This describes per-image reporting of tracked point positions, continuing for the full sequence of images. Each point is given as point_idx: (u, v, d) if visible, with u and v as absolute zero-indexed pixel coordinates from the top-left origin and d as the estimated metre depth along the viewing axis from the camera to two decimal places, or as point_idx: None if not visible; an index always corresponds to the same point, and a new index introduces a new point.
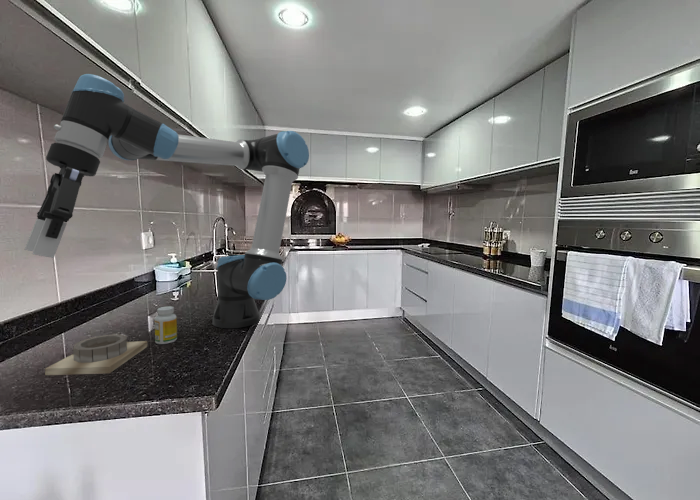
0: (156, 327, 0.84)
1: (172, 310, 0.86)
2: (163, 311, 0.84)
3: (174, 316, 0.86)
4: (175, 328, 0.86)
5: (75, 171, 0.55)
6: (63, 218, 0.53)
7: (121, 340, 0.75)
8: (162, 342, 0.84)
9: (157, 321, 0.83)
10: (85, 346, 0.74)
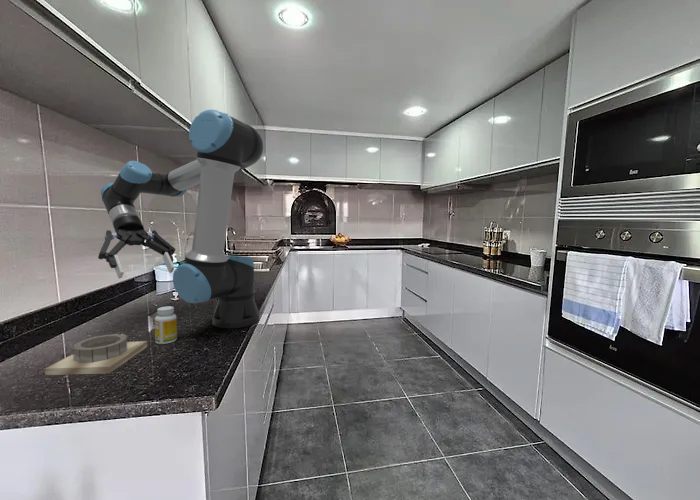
0: (156, 327, 0.84)
1: (172, 310, 0.86)
2: (163, 311, 0.84)
3: (174, 316, 0.86)
4: (175, 328, 0.86)
5: None
6: (104, 256, 0.86)
7: (121, 340, 0.75)
8: (162, 342, 0.84)
9: (157, 321, 0.83)
10: (85, 346, 0.74)
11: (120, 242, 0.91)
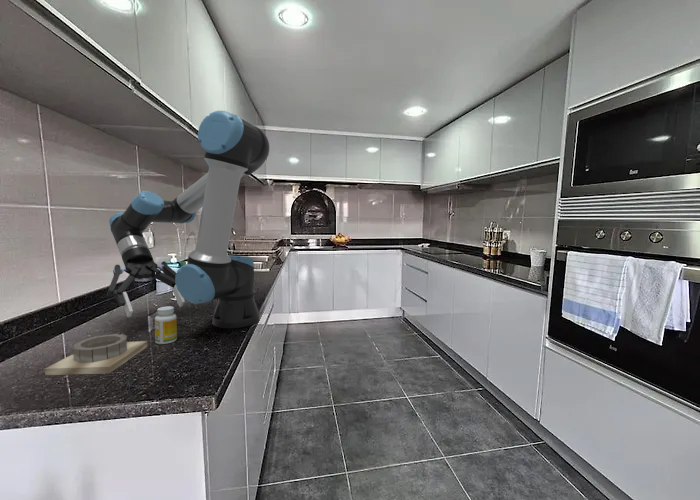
0: (156, 327, 0.84)
1: (172, 310, 0.86)
2: (163, 311, 0.84)
3: (174, 316, 0.86)
4: (175, 328, 0.86)
5: (114, 268, 0.88)
6: (112, 293, 0.82)
7: (121, 340, 0.75)
8: (162, 342, 0.84)
9: (157, 321, 0.83)
10: (85, 346, 0.74)
11: (129, 277, 0.87)
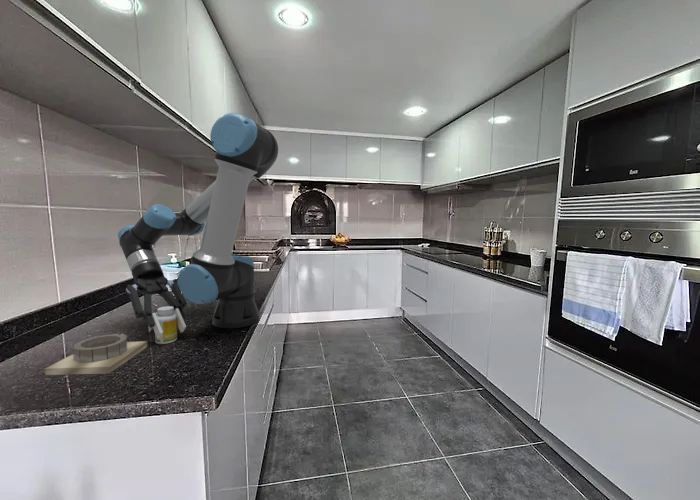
0: None
1: (172, 310, 0.86)
2: (163, 311, 0.84)
3: (174, 316, 0.86)
4: (175, 328, 0.86)
5: (126, 289, 0.84)
6: (142, 315, 0.82)
7: (121, 340, 0.75)
8: (162, 342, 0.84)
9: None
10: (85, 346, 0.74)
11: (148, 295, 0.86)
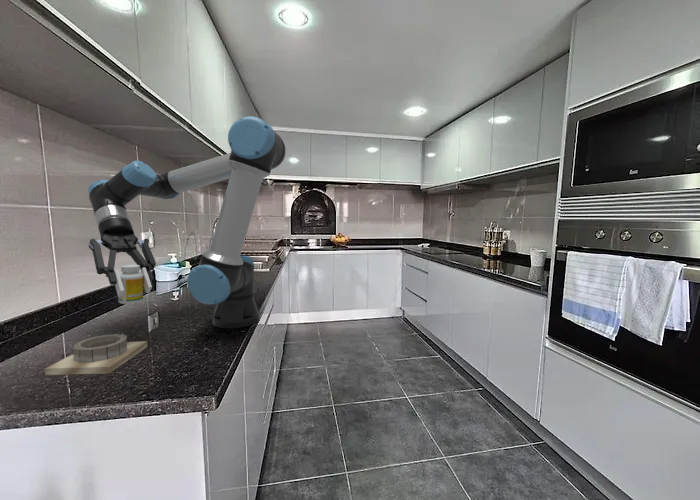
0: None
1: (137, 268, 0.79)
2: (127, 268, 0.78)
3: (139, 275, 0.80)
4: (140, 288, 0.80)
5: (89, 243, 0.79)
6: (103, 270, 0.76)
7: (121, 340, 0.75)
8: (125, 301, 0.78)
9: None
10: (85, 346, 0.74)
11: (112, 252, 0.80)
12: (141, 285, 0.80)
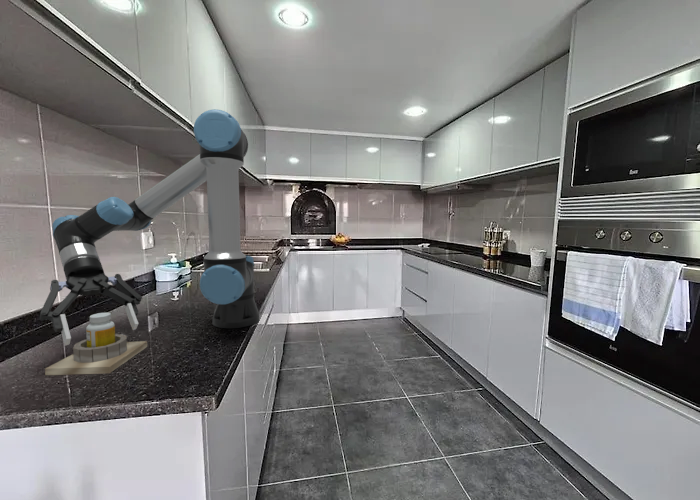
0: (87, 337, 0.71)
1: (108, 317, 0.73)
2: (96, 319, 0.71)
3: (110, 324, 0.73)
4: (112, 338, 0.74)
5: None
6: (46, 316, 0.67)
7: (121, 340, 0.75)
8: None
9: (88, 331, 0.71)
10: (85, 346, 0.74)
11: (70, 295, 0.72)
12: (113, 335, 0.74)
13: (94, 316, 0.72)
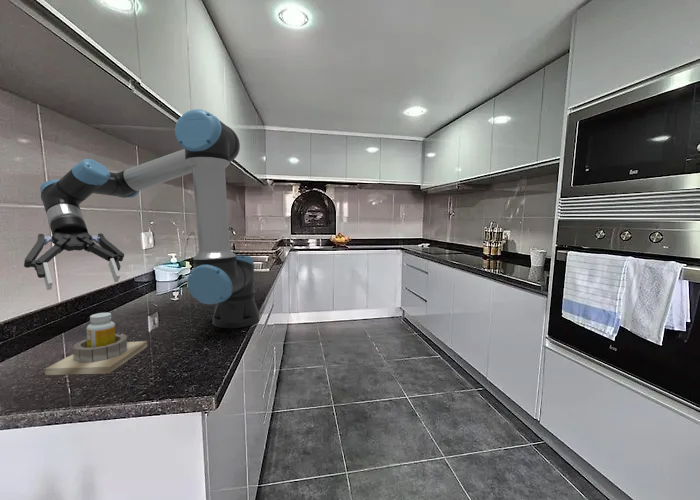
0: (88, 337, 0.71)
1: (108, 317, 0.73)
2: (96, 318, 0.71)
3: (111, 324, 0.74)
4: (112, 338, 0.74)
5: None
6: (30, 263, 0.74)
7: (121, 340, 0.75)
8: None
9: (88, 331, 0.71)
10: (85, 346, 0.74)
11: (54, 247, 0.79)
12: (113, 335, 0.74)
13: (94, 316, 0.72)
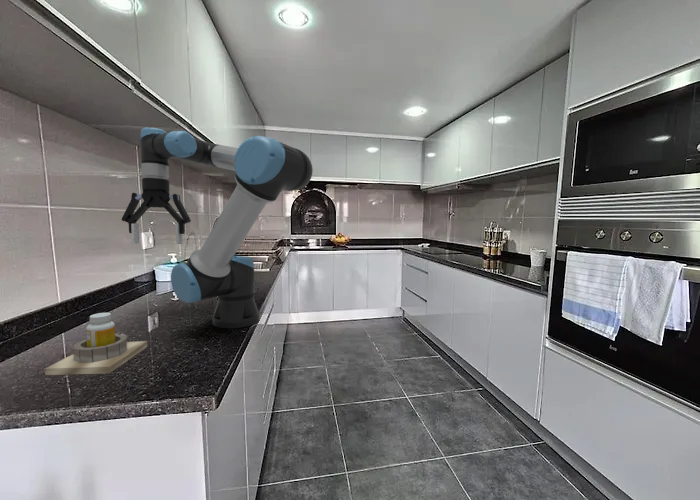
0: (87, 337, 0.71)
1: (108, 317, 0.73)
2: (96, 319, 0.71)
3: (110, 324, 0.74)
4: (112, 338, 0.74)
5: None
6: (126, 221, 0.98)
7: (121, 340, 0.75)
8: None
9: (88, 331, 0.71)
10: (85, 346, 0.74)
11: (140, 208, 0.98)
12: (113, 335, 0.74)
13: (94, 316, 0.72)
